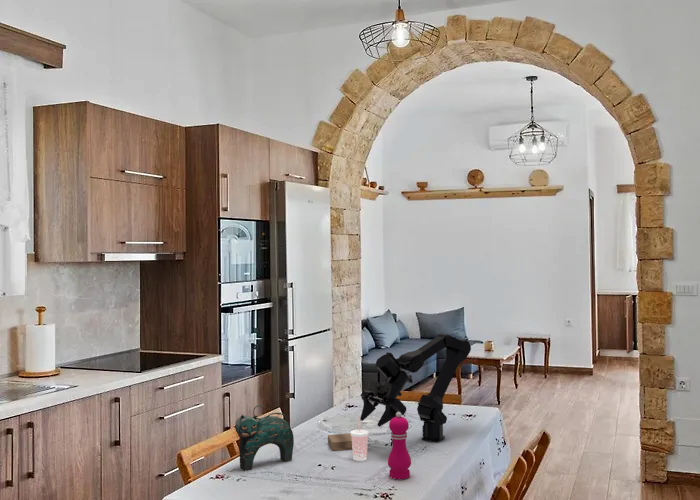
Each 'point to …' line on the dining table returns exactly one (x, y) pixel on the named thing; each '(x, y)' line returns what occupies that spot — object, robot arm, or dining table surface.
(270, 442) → the ceramic cat
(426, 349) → the robot arm
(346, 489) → the dining table surface
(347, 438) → the walnut block
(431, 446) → the dining table surface
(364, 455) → the beverage cup
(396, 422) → the pepper mill
